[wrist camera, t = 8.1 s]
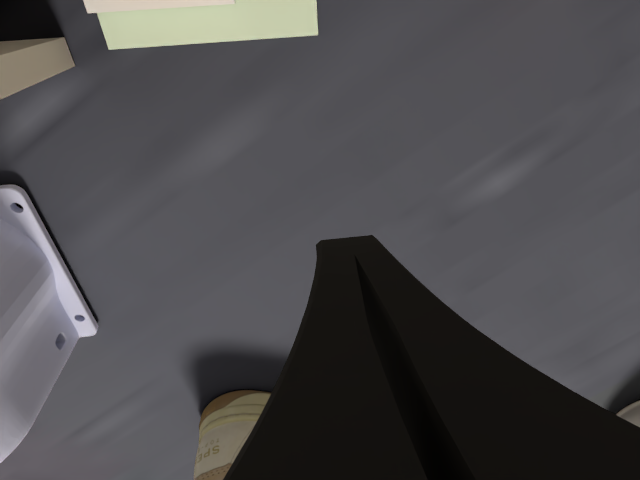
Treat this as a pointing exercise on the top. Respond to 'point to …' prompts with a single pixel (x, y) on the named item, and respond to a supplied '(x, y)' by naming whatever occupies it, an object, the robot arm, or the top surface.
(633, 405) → the lidded jar
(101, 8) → the cream and orange bar
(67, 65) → the tunnel
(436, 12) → the top surface
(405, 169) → the top surface
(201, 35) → the pad
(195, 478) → the boat shoe
